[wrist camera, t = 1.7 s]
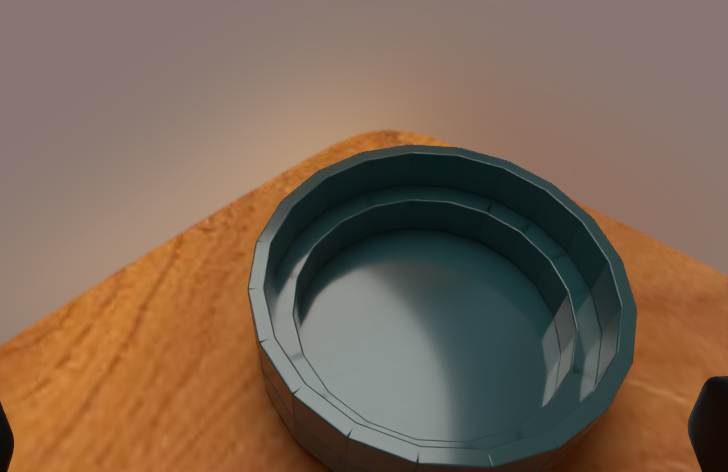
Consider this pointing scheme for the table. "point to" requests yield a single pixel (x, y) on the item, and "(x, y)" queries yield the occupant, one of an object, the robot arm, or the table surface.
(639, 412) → the table surface
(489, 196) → the bowl
